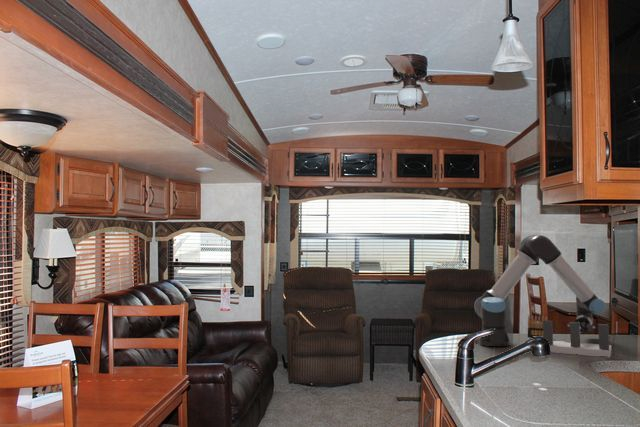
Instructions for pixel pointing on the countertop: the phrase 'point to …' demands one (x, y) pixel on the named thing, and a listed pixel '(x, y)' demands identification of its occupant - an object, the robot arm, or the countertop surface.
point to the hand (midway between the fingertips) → (577, 331)
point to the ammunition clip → (537, 329)
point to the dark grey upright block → (575, 334)
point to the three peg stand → (585, 348)
